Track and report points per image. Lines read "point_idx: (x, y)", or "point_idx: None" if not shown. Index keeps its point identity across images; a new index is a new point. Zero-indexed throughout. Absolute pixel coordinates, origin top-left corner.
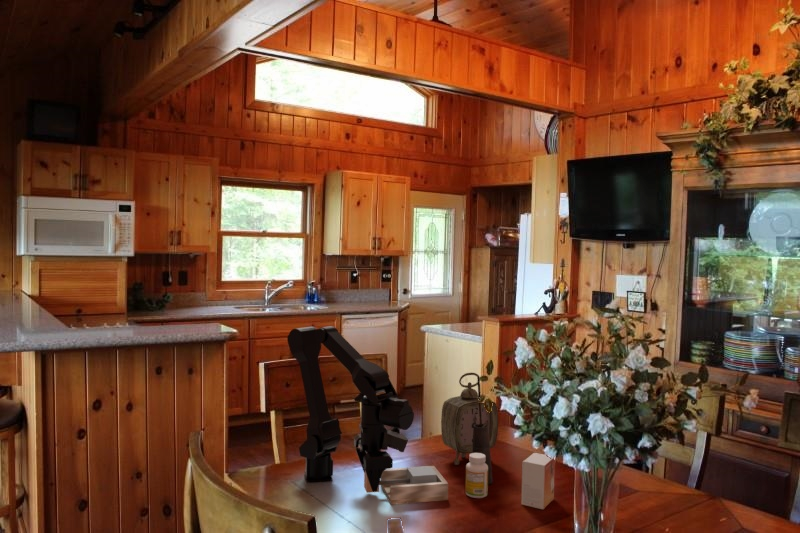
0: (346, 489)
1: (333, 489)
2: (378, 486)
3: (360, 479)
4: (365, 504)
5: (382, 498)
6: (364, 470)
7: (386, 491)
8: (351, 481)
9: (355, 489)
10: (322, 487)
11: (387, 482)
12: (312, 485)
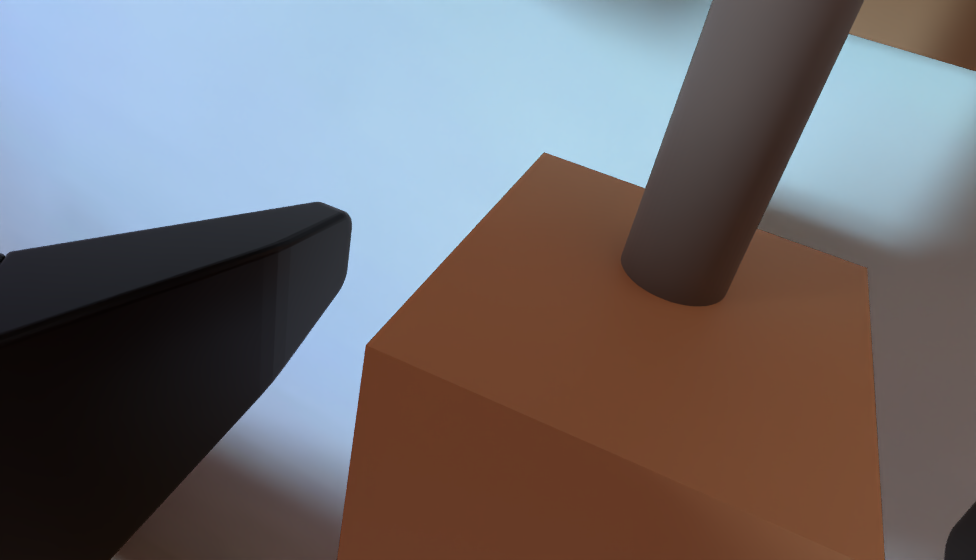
0: (333, 396)
1: (298, 490)
2: (858, 348)
3: (58, 72)
4: (948, 516)
5: (926, 158)
6: (210, 440)
7: (854, 29)
8: (114, 215)
9: (363, 315)
10: (229, 527)
11: (842, 45)
12: (173, 553)
